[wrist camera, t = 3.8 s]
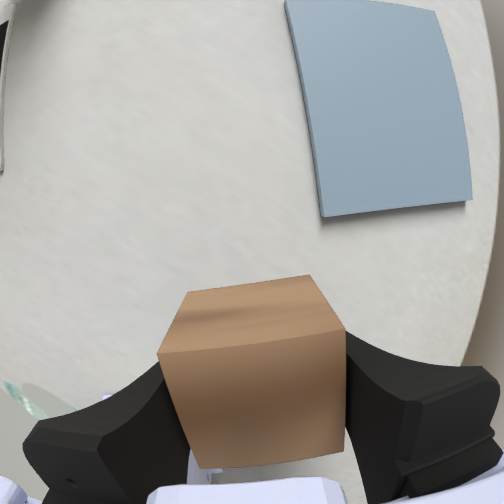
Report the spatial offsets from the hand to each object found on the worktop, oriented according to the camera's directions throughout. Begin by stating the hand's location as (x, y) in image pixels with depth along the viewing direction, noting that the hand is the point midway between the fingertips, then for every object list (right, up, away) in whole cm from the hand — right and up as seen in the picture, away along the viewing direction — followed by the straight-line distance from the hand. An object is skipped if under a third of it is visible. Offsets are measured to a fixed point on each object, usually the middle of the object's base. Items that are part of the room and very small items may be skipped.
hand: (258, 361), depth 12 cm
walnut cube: (0, 0, +2) cm, 2 cm away
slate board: (+8, +14, +5) cm, 17 cm away
